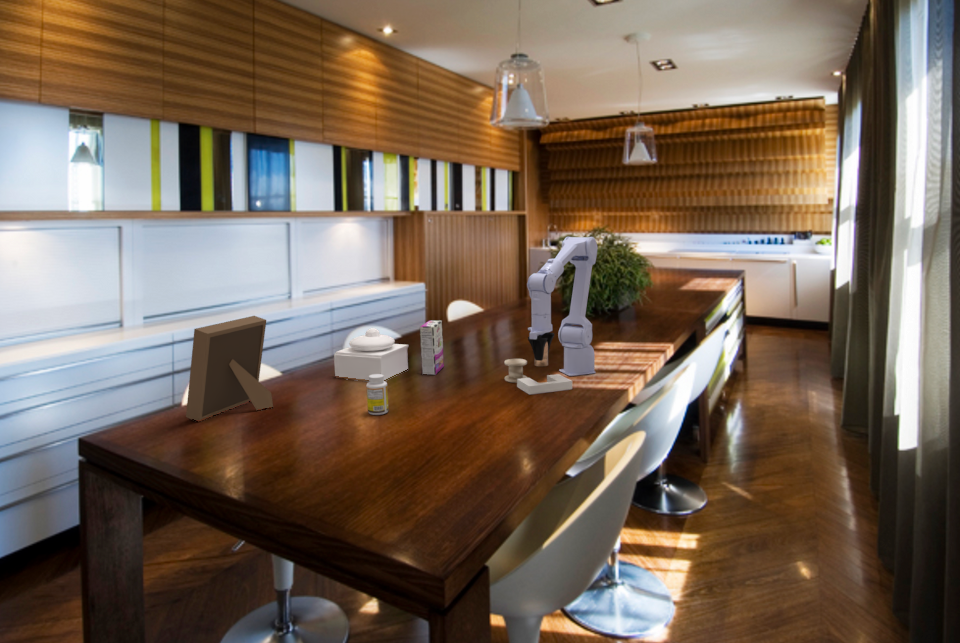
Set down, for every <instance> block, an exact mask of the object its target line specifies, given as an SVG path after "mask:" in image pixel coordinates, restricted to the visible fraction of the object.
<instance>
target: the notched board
mask: <svg viewBox="0 0 960 643" xmlns="http://www.w3.org/2000/svg"><path fill="white" fill-rule="evenodd" d="M516 388H518V389H520V390H521V391H523V392H524V393H526V394H528V395H537V394H545V393H553V392H560V391H569V390H570V391H571V390H573V380H571V379H569V378H567V377H565V376H563V375H562V374H560V373H558V374H550V375H549V374H547V375H546V381H545V382H537V381H536V380H534V379H532V378H531V377H527V378H521V379H517V383H516Z"/></svg>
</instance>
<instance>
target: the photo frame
mask: <svg viewBox="0 0 960 643" xmlns="http://www.w3.org/2000/svg"><path fill="white" fill-rule="evenodd" d="M266 325H267V319H265V318H263V317H259V316H256V315H252V316H246V317H243V318H241V317H240V318H238V319H233V320H227V321H225V322H220V323H215V324H210V325H206V326H200V327H197V328H194V329H193V330H194V331H193V338H192V340H193V342H192V343H193V344H192V352H191V362H190V371H189V381H188V382H189V383H188V393H187V401H186V412H185V418H187V419H190V420H192V419H194V420H201V419H203V418H206V417H209V416H211V415H214V414H217V413H219V412H222V411H225V410H228V409H230V408H233V407H235V406H238V405H240V404H242V403H245V402H247V401H249V400H251V402H250V403H251V404H252V405H253V407H254V408H255V410H256V411H257V410H258V409H263V408H269V407H273V408H274V403H273V397H272V396H273V394H272V392H271V391H270V390H269V389H267V387H266V386H264V384H262V383H261V382H260V375H261V368H262V367H261V366H262V358H263V350H264V342H265V335H266V334H265V332H266V327H267V326H266ZM194 420H193V421H194Z"/></svg>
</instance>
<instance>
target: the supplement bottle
mask: <svg viewBox="0 0 960 643" xmlns="http://www.w3.org/2000/svg"><path fill="white" fill-rule="evenodd" d="M365 386H366V402H367V412H368V414H370V415H371V416H381V415H384V414H387V413H388V412H389V409H390V408H389V394H388V390H389V389H388V383H387V381H384V375H382V374H373V375H370V376H369V381H368V382H367V383H366V385H365Z"/></svg>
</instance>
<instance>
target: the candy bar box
mask: <svg viewBox="0 0 960 643" xmlns="http://www.w3.org/2000/svg"><path fill="white" fill-rule="evenodd" d="M419 335H420V337H419V339H420V355H421V356H420V357H421V374H422V375H423V374H427V375H426V376H436V375H437V374H438V373H440V371H441V370H442V369H444V367H445V362H444V342H443V341H444V339H443V320H428V321H427V322H425V323H423V324H422V325H420V326H419Z"/></svg>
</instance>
